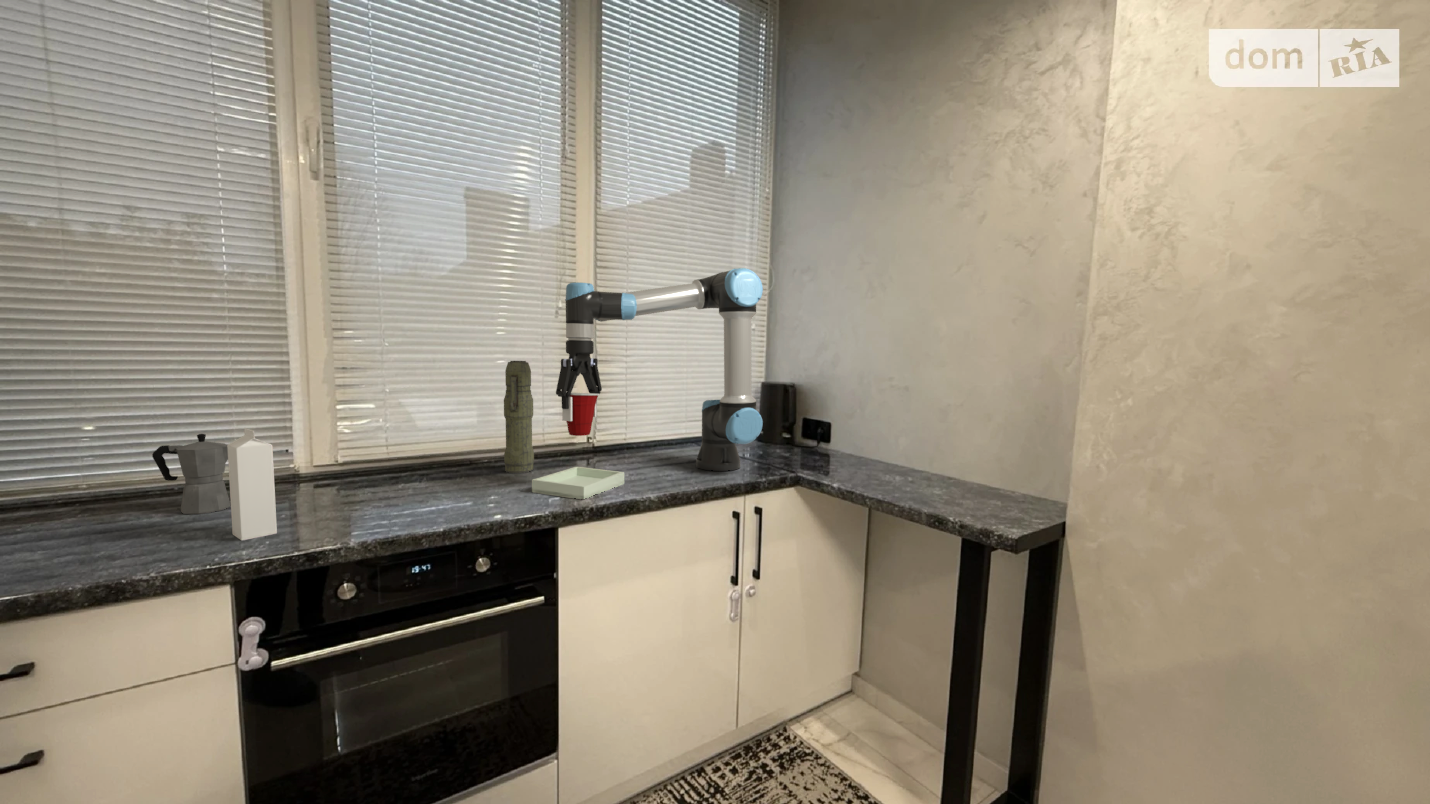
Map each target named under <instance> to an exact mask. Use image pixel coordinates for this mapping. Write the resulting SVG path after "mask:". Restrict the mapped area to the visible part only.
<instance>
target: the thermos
mask: <svg viewBox="0 0 1430 804" xmlns="http://www.w3.org/2000/svg"><path fill="white" fill-rule="evenodd" d="M531 370H532V369H531V366H530V363H529V362H528V361H526V360H510V361H508V362H507V364H506V367H505V386H506V389H505V395H504V397H503V417H504V419H505V450H504V454H503V456H504V457H503V461H504V462H503V463H504V466H505V467H504V468H505V469H504V472H505V471H506V472H505V473H507V472H509V473H508V474H514V473H516V474H526V473H525V472H528V473H530V472H529V471H531V470H533V469H534V462H535V453H534V448H533V416H534V397H533V395H532V390H531V386H532V371H531ZM533 471H534V470H533ZM531 472H532V471H531Z"/></svg>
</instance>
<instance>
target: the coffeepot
mask: <svg viewBox="0 0 1430 804" xmlns="http://www.w3.org/2000/svg"><path fill="white" fill-rule="evenodd" d="M206 436H207V434H205V433H199V434H196V437H197V440H198V441H196V442H192V443H188V444H185V445H181V444H176V445H175V444H173V445H167V444H166V445H160V446H159V447H157V448H156V449H155V450H154V451H153V452H152V455H151V456H152V459H153V461H154V462H155V464H156V466H157V468H158V469H159V471H160V473H161V475H162V476H163V478H164V480H165V481H170V482H171V481H177V479H178V478H179V477H178V475H176V476H174V475H171V473H170V468H169V467H168V465H167V463H166V460H165V457H164V456H163V455H165V454H171V455H177V457H178V461H179V465H180V469H181V472H182V475H183V477H184V479H185V481H184V482H185V483H184V485H183V490H182V496H181V497H182V498H181V502H180V511H181V512H182V513H183V515H189V516H190V515H203V514H204V515H205V514H211V512H212V513H216V512H215V511H217V512H221V511H225V510H227V509H229V508H231V500H230V497H229V495H228V491H227V487H226V483H225V481H224V476H223V475H224V473H225V471H226V470H225V469H226V463H227V462H228V448H227V445H228V444H229V443H228V444H227V443H222V442H215V441H214V442H213V441H206ZM226 508H227V509H226ZM224 509H225V510H224ZM182 513H181V514H182Z"/></svg>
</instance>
